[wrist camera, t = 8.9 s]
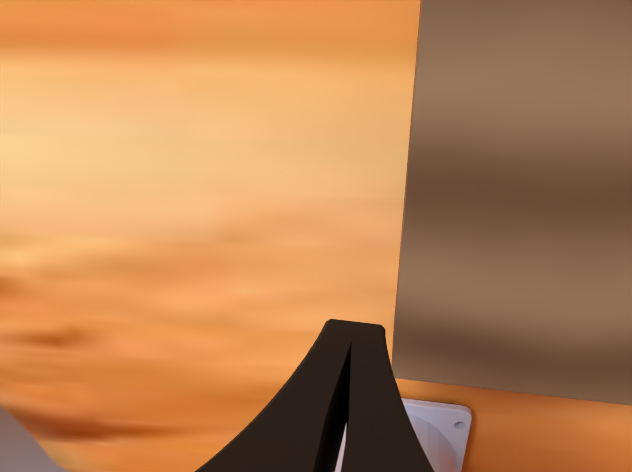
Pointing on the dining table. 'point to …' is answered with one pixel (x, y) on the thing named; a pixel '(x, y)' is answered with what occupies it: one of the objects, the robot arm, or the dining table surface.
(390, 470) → the robot arm
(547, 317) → the walnut board
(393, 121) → the dining table surface
